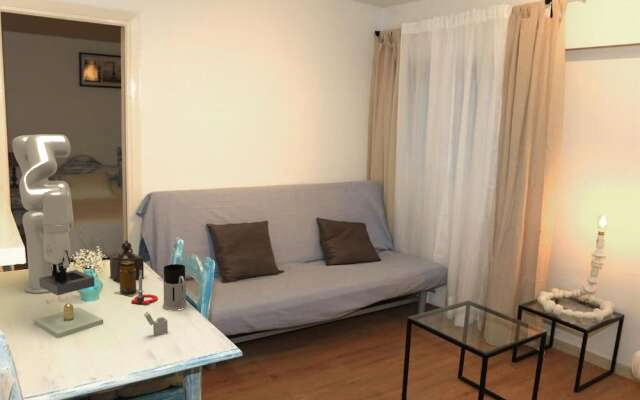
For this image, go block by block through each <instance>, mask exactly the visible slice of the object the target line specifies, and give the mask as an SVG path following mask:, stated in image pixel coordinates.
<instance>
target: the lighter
mask: <svg viewBox="0 0 640 400" xmlns="http://www.w3.org/2000/svg"><path fill="white" fill-rule="evenodd" d="M143 315H144V317H145V319H146V320H147V322H148V324H149V325H150V326H152V325H153V329H152V330H153V335H154V336H160V335H165V334H167V333H168V331H169V330H168V327H169V325H168V319H167V318H165V317H163V316H161V317H157V318H156V320H154V319H153V317H152V316H151V314H150V313H149V311H146V312H145V313H144V314H143Z"/></svg>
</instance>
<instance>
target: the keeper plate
mask: <svg viewBox="0 0 640 400" xmlns="http://www.w3.org/2000/svg"><path fill="white" fill-rule="evenodd" d="M73 311H74V320H72V321H64V314H63V311H60V312H56V313H52V314H49V315H46V316H43V317H38V318H35V319H33V323H34V325H35V326H37V327H39V328H40V329H42V330H43V331H45V332H47V333H49V334H50V335H52V336H53V337H55V338H57V339H60V338H63V337H65V336H69V335H72V334H74V333H78V332H81V331H84V330H87V329H91V328H94V327H96V326H99V325H103V324H104V319H103V318H102V317H100V316H97V315H95V314H94V313H91V312H89V311H87V310H86V309H83V308H82V307H79V306H77V307H75V308H74V307H73Z"/></svg>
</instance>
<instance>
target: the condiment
mask: <svg viewBox="0 0 640 400" xmlns="http://www.w3.org/2000/svg"><path fill="white" fill-rule="evenodd" d="M120 266H121V267H120V268H121V269H120V271H119V275H120V283H119V291H116V292H114V293H115V294H118V295H123V296H126V297H134V296H138V291H139V288H138V289H137V281H136V269H135V263H134V262H133V261H124V262H122V263H121V264H120ZM143 292H145V290H143Z"/></svg>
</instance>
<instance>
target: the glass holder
mask: <svg viewBox="0 0 640 400" xmlns="http://www.w3.org/2000/svg"><path fill="white" fill-rule="evenodd" d="M186 281H187V278H186V266H185V265H184V264H178V263H175V264H174V263H173V264H166V265H164V266H163V305H162V309H163V310H165V311H168V310H178V309H182V308H185V307H186V306H187V307H188V304H187V282H186ZM187 307H186V308H187ZM186 308H185V309H186ZM182 310H183V309H182ZM178 311H179V310H178Z"/></svg>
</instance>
